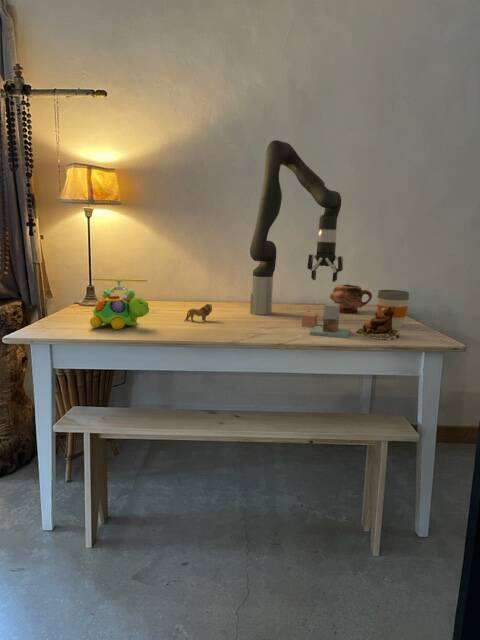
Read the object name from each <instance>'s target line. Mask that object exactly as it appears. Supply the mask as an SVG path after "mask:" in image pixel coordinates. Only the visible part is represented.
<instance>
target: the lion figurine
mask: <svg viewBox="0 0 480 640" xmlns="http://www.w3.org/2000/svg"><path fill="white" fill-rule="evenodd" d="M212 311H213V307H212V304H210V303H206V304H205V305H204V306H202V307H201V308H198V309H197V308H189V309H188V311H187V313H186V317H185V319H184V321H187V322H189V321H190V320H191V322H193V323H195V320H194V316H196V317H201V320H204V321H203V322H205V321H206V320H207V319H206V318H207V317H208V316H209V315H210V314H211V313H212ZM189 318H190V319H189Z"/></svg>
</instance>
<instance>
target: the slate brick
mask: <svg viewBox="0 0 480 640" xmlns="http://www.w3.org/2000/svg"><path fill="white" fill-rule="evenodd" d="M339 309H340V304H336V303H335V302H326V303H325V304H324V306H323V319H324V318H325V319H338V317H339V318H340V313H339Z"/></svg>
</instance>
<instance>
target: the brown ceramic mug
mask: <svg viewBox="0 0 480 640" xmlns="http://www.w3.org/2000/svg"><path fill="white" fill-rule="evenodd" d="M364 295H367V296H368V299H367V300H366V301H363V296H364ZM372 297H373V295H372V292H371V291H370V290H367V289H362V287H361V286H358V285H353V284H352V285H351V284H348V283H347V284H340V285H339V284H338V285H335V286H334V288H333V290H332V292H331V293H330V294H329V298H330V300H332V301H333V303H336V304H340V309H339V314H346V315H347V314H348V315H349V314H351V315H352V314H353V315H356V314H357V313H358V308H359V309H361V308H362V307H364V306H366V305H367V304H369V302H370V301H371V300H372V299H373V298H372Z"/></svg>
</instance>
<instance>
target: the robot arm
mask: <svg viewBox="0 0 480 640" xmlns="http://www.w3.org/2000/svg"><path fill="white" fill-rule="evenodd" d="M264 161H265V162H264V175H263V183H262V188H261V194H260V200H259V205H258V212H257V216H256V217H257V218H256V224H255V228H254V231H253V236H252V240H251V242H250V248H249V254H250V258H251V259H252V260H253V261H255V262H259V264H258V266H257V267H255V268H254V269H253V270H252V287H251V290H252V291H251V292H250V306H249V307H250V309H249V313H250V314H253V315H259V316H269V315H272V312H273V311H272V310H273V309H272V308H273V307H272V306H273V287H274V286H273V285H274V284H273V283H274V274H275V270H276V265H277V264H276V263H277V246H276V244H275V243H274V241H271V240H268V235H269V231H270V229H271V228H272V225H273V224H274V223H275V221H276V219H277V218H278V216H279V214H280V210H281V207H282V206H281V205H282V201H283V199H282V198H283V193H282V189H281V184H280V171H281V166H284V167H285V168H287V169H289V170H290V171H291V172H292V173H293V174H294V176H295V177H296V179H297V181H298V182H299V184H300V185H301V187H303V188H304V189H305V190H306V191H307V192H308V193H309V194H311V196H312V198H313V200H314V201H315V202H316V203H317V204H318V206H319V207H321V208H324V212H323V214H322V215H320V216H319V220H318V221H319V223H318V232H317V240H316V253H315V254H308V261H307V269H308V270H310V271H311V277H310V278H311V279H312V281H316V280H317V271H316V270H317V269H318V268H319V267H320V266H321V267H323V266H325V267H330V269H331V270H332V283H335V282H336V281H338V275H339V274H338V273H339V272H342V271H343V270H344V269H343V268H344V267H343V265H344V262H343V261H344V260H343V259H344V257H343V256H340V255H339V256H336V250H337V249H336V246H337V226H338V225H337V222H338V217H339V214H340V211H341V208H342V207H341V206H342V196H341V194H340V193H339V192H338V191H335V190H332V189H331V190H330V189H329V188H327V186H326V185H325V182H324V180H323V179H322V178H321V177H320V176H318V174H317V173H315V172H314V171H313V170H312V169H311V168H310V166H308V165H307V164H306V163H305V161H304V160H303V159H302V158H301V157H300V156H299V154H298V153H297V151H296V150H295V148H294V147H293V146H292V145H291V144H290V143H288V142H285V141H282V140H277V139H274V140H272V141H271V142H270V143H269V144H268V145H267V147H266V151H265V160H264ZM315 260H316V262H315V264H313V262H314V261H315ZM335 261H336V262H337V266H336V264H335V263H334V262H335Z"/></svg>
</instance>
